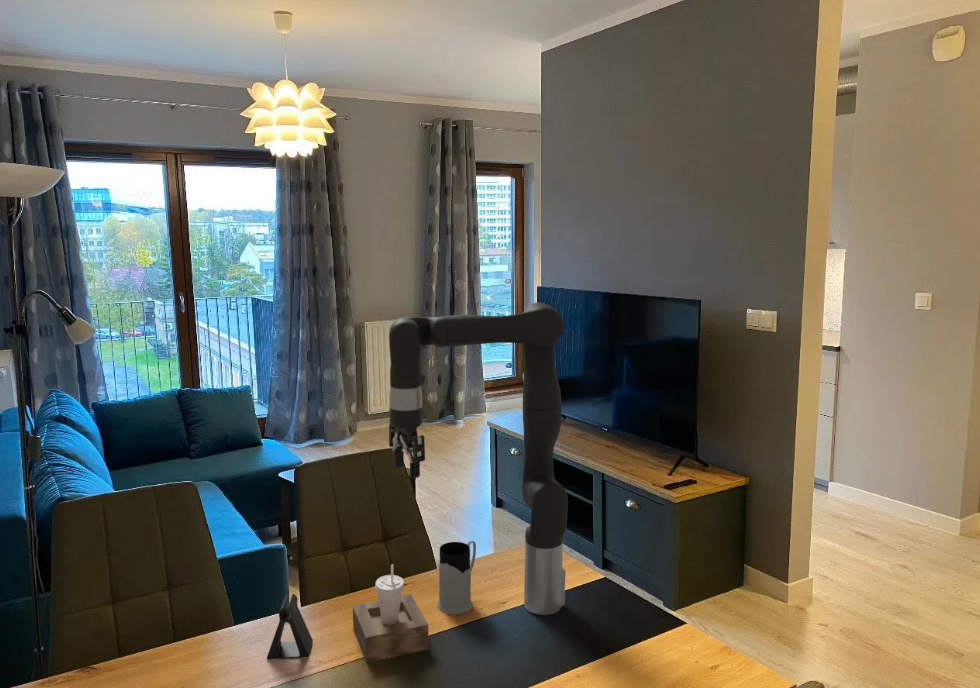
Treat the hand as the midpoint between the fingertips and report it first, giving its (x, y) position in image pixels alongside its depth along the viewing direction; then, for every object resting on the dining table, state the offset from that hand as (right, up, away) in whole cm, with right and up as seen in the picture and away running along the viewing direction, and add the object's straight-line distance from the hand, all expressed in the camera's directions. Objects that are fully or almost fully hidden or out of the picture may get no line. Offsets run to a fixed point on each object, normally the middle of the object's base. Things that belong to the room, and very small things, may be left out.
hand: (406, 471), depth 171 cm
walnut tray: (-3, -38, -4) cm, 38 cm away
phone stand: (-25, -38, -9) cm, 47 cm away
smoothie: (-3, -33, -5) cm, 33 cm away
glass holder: (+12, -35, +13) cm, 39 cm away
